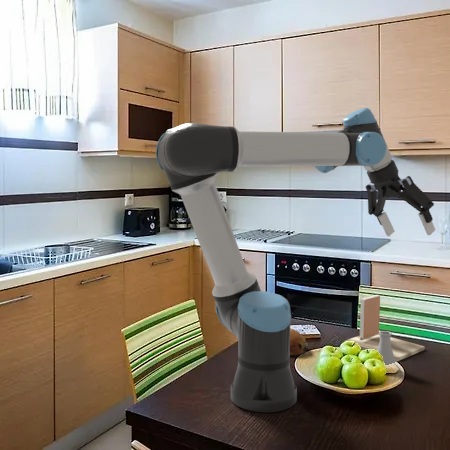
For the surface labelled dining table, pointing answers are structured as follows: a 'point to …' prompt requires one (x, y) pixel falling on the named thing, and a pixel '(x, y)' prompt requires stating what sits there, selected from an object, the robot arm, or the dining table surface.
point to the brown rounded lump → (297, 343)
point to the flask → (386, 347)
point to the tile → (369, 317)
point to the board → (398, 346)
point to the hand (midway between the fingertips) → (410, 233)
